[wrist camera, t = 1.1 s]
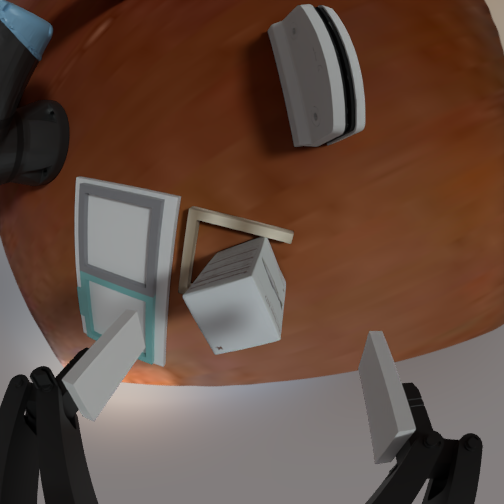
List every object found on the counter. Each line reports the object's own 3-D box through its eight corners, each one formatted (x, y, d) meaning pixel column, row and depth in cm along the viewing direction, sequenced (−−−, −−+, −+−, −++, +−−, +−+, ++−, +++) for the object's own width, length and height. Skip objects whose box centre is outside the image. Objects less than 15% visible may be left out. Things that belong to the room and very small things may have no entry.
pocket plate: (86, 329, 47) (81, 335, 45) (80, 176, 36) (72, 178, 34) (165, 363, 46) (161, 370, 44) (180, 196, 35) (174, 199, 33)
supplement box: (287, 283, 37) (282, 343, 25) (236, 298, 39) (213, 357, 27) (267, 232, 35) (253, 274, 23) (215, 250, 37) (179, 296, 25)
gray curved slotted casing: (267, 28, 26) (292, -13, 16) (302, 28, 27) (335, -8, 17) (294, 150, 31) (334, 142, 22) (330, 145, 32) (377, 139, 22)
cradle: (181, 287, 40) (178, 292, 38) (193, 206, 35) (189, 208, 34) (269, 312, 39) (268, 318, 37) (293, 231, 34) (293, 234, 33)
